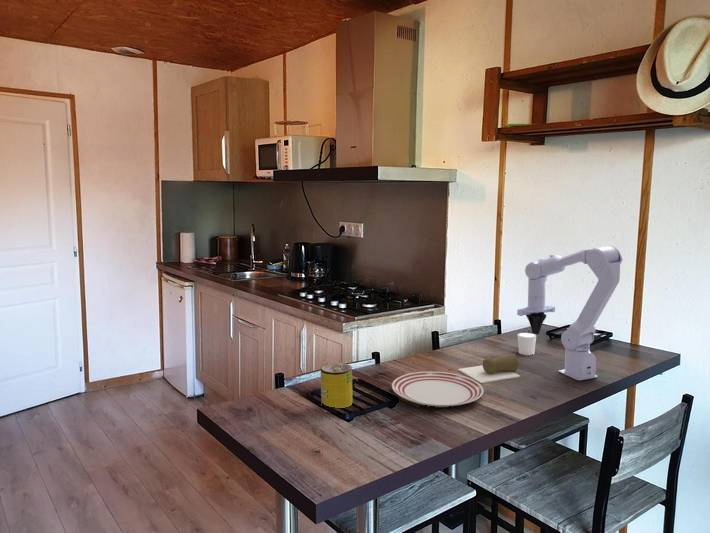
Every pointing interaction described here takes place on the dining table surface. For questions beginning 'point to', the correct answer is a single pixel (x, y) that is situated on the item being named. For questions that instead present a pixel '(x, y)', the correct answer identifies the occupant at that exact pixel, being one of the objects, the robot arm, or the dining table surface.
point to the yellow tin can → (336, 385)
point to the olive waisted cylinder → (501, 364)
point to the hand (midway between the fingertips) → (535, 333)
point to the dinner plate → (437, 388)
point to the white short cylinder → (526, 343)
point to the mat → (483, 377)
